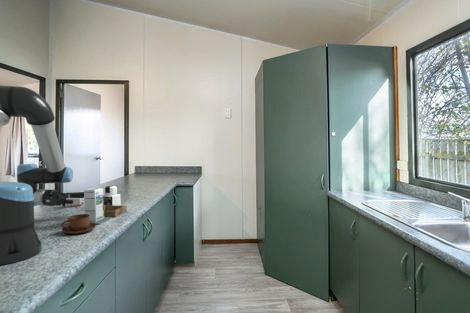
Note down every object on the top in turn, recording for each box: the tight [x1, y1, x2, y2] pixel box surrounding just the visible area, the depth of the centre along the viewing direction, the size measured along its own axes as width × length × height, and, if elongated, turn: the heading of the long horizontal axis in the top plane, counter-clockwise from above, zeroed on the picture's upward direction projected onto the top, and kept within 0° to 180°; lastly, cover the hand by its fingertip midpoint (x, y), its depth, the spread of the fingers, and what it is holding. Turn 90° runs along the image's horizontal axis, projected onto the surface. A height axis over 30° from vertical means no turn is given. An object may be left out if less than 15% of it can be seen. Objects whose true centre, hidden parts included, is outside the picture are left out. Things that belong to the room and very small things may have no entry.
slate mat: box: [89, 217, 112, 226], centre depth 122 cm, size 10×10×1 cm
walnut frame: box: [104, 205, 128, 218], centre depth 135 cm, size 12×12×3 cm
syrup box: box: [83, 187, 104, 222], centre depth 122 cm, size 6×6×14 cm
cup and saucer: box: [61, 213, 97, 235], centre depth 108 cm, size 12×12×6 cm
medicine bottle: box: [103, 185, 122, 206], centre depth 149 cm, size 7×7×12 cm
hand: (90, 198), depth 122 cm, fingers open, 13 cm apart
